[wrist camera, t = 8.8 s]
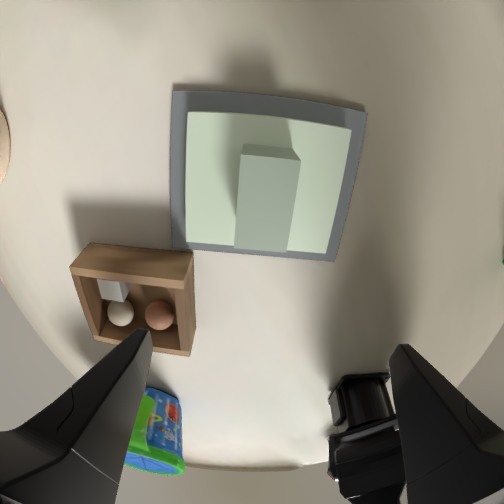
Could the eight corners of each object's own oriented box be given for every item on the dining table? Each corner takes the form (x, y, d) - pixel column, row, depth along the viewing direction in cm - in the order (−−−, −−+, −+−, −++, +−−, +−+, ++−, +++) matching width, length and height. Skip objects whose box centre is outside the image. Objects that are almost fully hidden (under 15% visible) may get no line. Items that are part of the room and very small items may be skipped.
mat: (365, 112, 15) (367, 113, 15) (333, 258, 21) (334, 261, 21) (174, 91, 15) (172, 90, 15) (173, 244, 21) (172, 247, 20)
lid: (345, 127, 16) (372, 138, 12) (322, 244, 20) (336, 281, 16) (192, 110, 15) (172, 116, 11) (189, 233, 20) (174, 269, 16)
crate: (193, 252, 21) (183, 280, 18) (196, 327, 25) (189, 356, 22) (89, 242, 20) (69, 266, 18) (107, 314, 25) (94, 339, 22)
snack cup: (185, 426, 38) (177, 482, 29) (122, 409, 36) (107, 463, 27) (203, 382, 30) (192, 461, 21) (116, 357, 28) (89, 431, 20)
